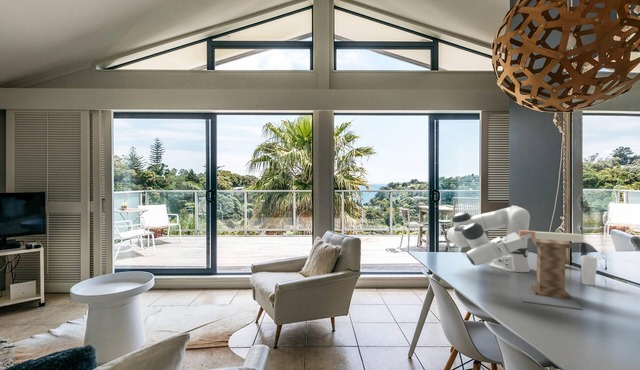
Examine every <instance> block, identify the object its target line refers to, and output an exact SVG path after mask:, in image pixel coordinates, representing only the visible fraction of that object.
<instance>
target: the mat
mask: <svg viewBox="0 0 640 370" xmlns="http://www.w3.org/2000/svg"><path fill="white" fill-rule="evenodd" d="M519 296H520V298H521V300H522V303H527V304H528V303H529V304H535V305H544V306H550V307H557V306H558V307H559V308H564V307H565V308H566V309H572V308H574V309H573V310H580V311H581V310H583V308H582V307H581V305H579V303H578V302H577V301H576V300H575V299H571V300H570V299H562V298H553V297H545V296H537V295H535V294H530V293H529V294H528V293H519Z"/></svg>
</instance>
